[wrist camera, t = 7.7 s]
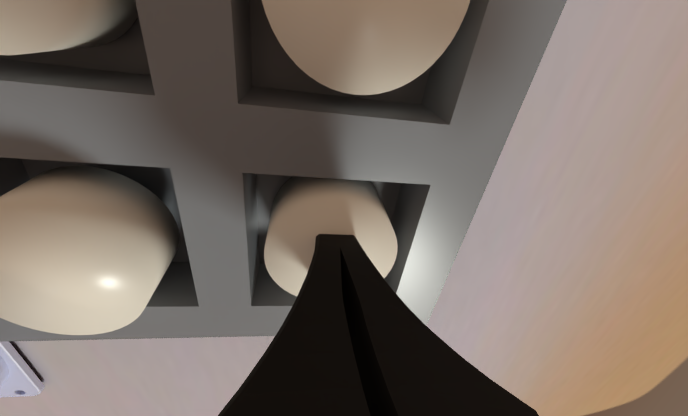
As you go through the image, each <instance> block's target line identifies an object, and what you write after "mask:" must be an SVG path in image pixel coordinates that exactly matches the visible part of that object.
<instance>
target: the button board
mask: <svg viewBox="0 0 688 416" xmlns="http://www.w3.org/2000/svg"><path fill="white" fill-rule="evenodd" d="M566 1H567V0H470V3H469V6H468V9H467V12H466V14H465V17H464V19H463V21H462V23H461V25H460V28H459V29H458V31H457V33H456V35H455V36H454V38H453V40H452V41H451V43H450V44H449V46H448V47H447V48H446V50H445V51H444V53H443V54H442V55H441V56H440V57H439V58H438V59H437V61H436V62H435V63H434V64H433V65H432V66H431V67H429V68H428V69H427V70H426V71H425V72H424V73H423V74H421V75H420V76H418V77H417V78H416V79H414V80H413V81H411V82H409V83H407V84H405V85H404V86H402V87H399V88H397V89H394V90H392V91H388V92H384V93H380V94H373V95H353V94H348V93H342V92H339V91H336V90H333V89H331V88H329V87H326V86H324V85H322V84H320V83H319V82H317V81H316V80H314V79H313V78H311V77H310V76H308V75H307V74H306V73H305V72H304V71H303V70H301V69H300V68H299V67H298V66H297V65H296V64H295V63H294V61H293V60H292V59H291V58H290V57H289V56H288V54H287V53H286V52H285V50H284V49H283V47H282V46H281V44H280V43H279V41H278V39H277V37H276V36H275V34H274V32H273V30H272V28H271V26H270V23H269V21H268V18H267V16H266V13H265V10H264V7H263V3H262V0H135V2H136V7H137V11H138V17H137V19H136V20H135V22H134V23H133V25H132V26H131V27H130V28H129V29H128V30H127V31H126V32H125V33H124V34H123V35H122V36H120V37H119V38H117V39H116V40H113V41H111V42H109V43H107V44H103V45H99V46H92V47H83V48H75V49H66V50H57V51H48V52H39V53H30V54H20V55H0V196H2V195H4V194H6V193H7V192H9V191H11V190H13V189H14V188H16V187H18V186H20V185H22V184H23V183H25V182H27V181H29V180H30V179H32V178H34V177H36V176H37V175H39V174H41V173H43V172H45V171H48V170H50V169H53V168H57V167H63V166H90V167H97V168H101V169H106V170H109V171H112V172H116V173H118V174H121V175H123V176H126V177H128V178H130V179H132V180H134V181H136V182H138V183H139V184H141V185H142V186H144V187H146V188H147V189H148V190H150V191H151V192H152V193H154V194H155V195H156V196H157V197H158V198H159V199H160V200H161V201H162V202H163V203H164V204H165V205H166V206H167V208H168V209H169V210H170V212H171V213H172V215H173V217H174V219H175V221H176V223H177V226H178V229H179V236H180V240H179V247H178V250H177V252H176V254H175V256H174V258H173V260H172V261H171V263H170V265H169V267H168V268H167V270H166V272H165V274H164V275H163V277H162V279H161V281H160V283H159V284H158V286H157V288H156V290H155V291H154V293H153V295H152V297H151V298H150V300H149V302H148V304H147V305H146V307H145V309H144V311H143V312H142V313H141V315H140V316H139V317H138V318H137V319H136V320H135V321H133V322H132V323H130V324H129V325H127V326H124V327H122V328H120V329H117V330H114V331H111V332H106V333H101V334H94V335H64V334H55V333H49V332H44V331H39V330H34V329H31V328H27V327H23V326H20V325H18V324H15V323H12V322H9V321H7V320H4V319H2V318H0V342H1V341H49V340H96V339H143V338H191V337H238V336H276V334H277V332H278V331H279V329H280V327H281V326H282V324H283V322H284V321H285V319H286V317H287V315H288V313H289V312H290V310H291V308H292V306H293V304H294V302H295V300H296V298H297V296H295V295H292V294H290V293H289V292H287V291H285V290H284V289H282V288H281V287H280V286H279V285H278V284H277V283H276V282H275V281H274V280H273V279H272V277H271V276H270V275H269V273H268V271H267V268H266V265H265V261H264V248H265V242H266V237H267V232H268V227H269V221H270V216H271V211H272V206H273V202H274V199H275V197H276V195H277V193H278V192H279V190H280V189H281V187H282V186H283V185H284V184H285V183H286V182H287V181H288V180H289V179H291V178H292V177H294V176H301V177H317V178H332V179H348V180H364V181H370V183H371V184H372V185H373V186H374V187H375V189H376V190H377V192H378V194H379V196H380V199H381V201H382V203H383V206H384V208H385V211H386V213H387V215H388V218H389V220H390V223H391V225H392V227H393V230H394V232H395V235H396V238H397V245H398V247H397V256H396V260H395V262H394V265H393V267H392V269H391V270H390V272H389V273H388V275H387V276H386V277H385V278H384V279H385V281H386V282H387V283H388V284H389V286H390V287H391V288H392V289H393V291H394V292H395V293H396V294H397V295H398V296H399V298H400V299H401V300H402V301H403V302H404V303H405V304H406V306H407V307H408V308H409V309H410V310H411V311H412V312H413V313H414V314H415V315H416V316H417V317H418V318H419V319H420V320H421V321H422V322H423V323H424V324H425V325H427V323H428V321H429V318H430V316H431V314H432V311H433V309H434V307H435V304H436V302H437V300H438V297H439V295H440V293H441V290H442V288H443V286H444V284H445V281H446V279H447V277H448V274H449V272H450V270H451V267H452V265H453V263H454V260H455V258H456V256H457V253H458V251H459V249H460V246H461V244H462V242H463V239H464V237H465V235H466V233H467V230H468V228H469V226H470V223H471V221H472V219H473V216H474V214H475V212H476V209H477V207H478V205H479V202H480V200H481V198H482V195H483V193H484V191H485V189H486V186H487V184H488V182H489V179H490V177H491V175H492V172H493V170H494V168H495V165H496V163H497V161H498V158H499V156H500V154H501V151H502V149H503V147H504V145H505V142H506V140H507V138H508V135H509V133H510V131H511V128H512V126H513V124H514V121H515V119H516V117H517V114H518V112H519V110H520V107H521V105H522V103H523V100H524V98H525V96H526V94H527V91H528V89H529V87H530V84H531V82H532V80H533V77H534V75H535V73H536V70H537V68H538V66H539V63H540V61H541V59H542V56H543V54H544V52H545V50H546V47H547V45H548V43H549V40H550V38H551V36H552V33H553V31H554V29H555V26H556V24H557V22H558V19H559V17H560V15H561V12H562V10H563V8H564V6H565V3H566Z"/></svg>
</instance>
